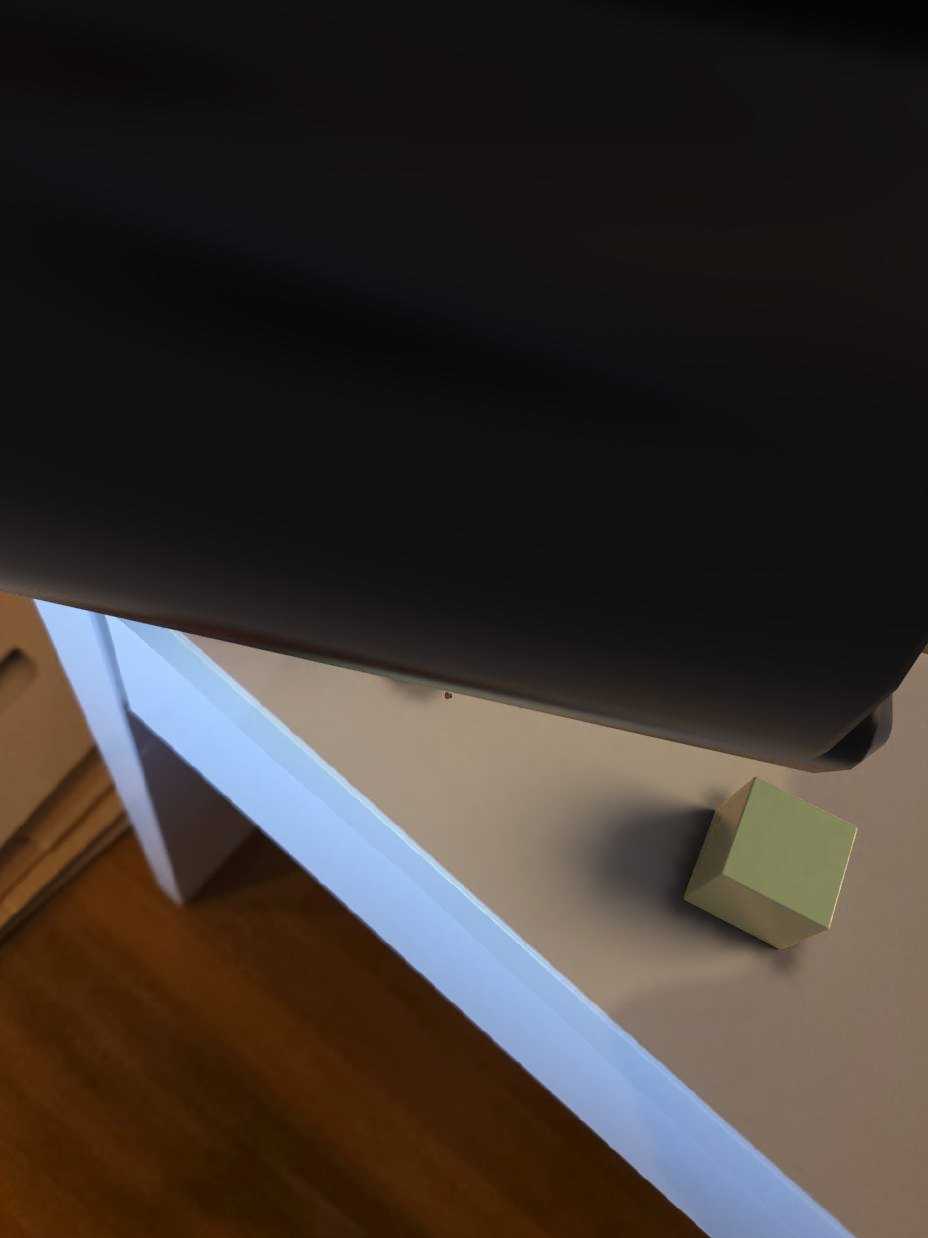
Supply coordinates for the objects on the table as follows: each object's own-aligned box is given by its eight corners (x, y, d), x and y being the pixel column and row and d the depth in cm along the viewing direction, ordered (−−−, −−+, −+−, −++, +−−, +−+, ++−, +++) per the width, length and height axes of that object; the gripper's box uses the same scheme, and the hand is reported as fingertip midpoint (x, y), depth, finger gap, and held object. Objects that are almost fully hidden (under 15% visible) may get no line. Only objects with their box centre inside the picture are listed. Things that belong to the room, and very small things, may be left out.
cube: (780, 950, 36) (830, 930, 33) (682, 899, 37) (720, 874, 33) (809, 856, 38) (859, 827, 35) (715, 808, 39) (755, 775, 35)
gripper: (1555, -814, 15) (1242, 63, 28) (740, -728, 25) (789, -108, 38) (990, -333, 16) (941, 312, 29) (408, -436, 26) (570, 79, 39)
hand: (798, 119), depth 34 cm, fingers open, 9 cm apart
